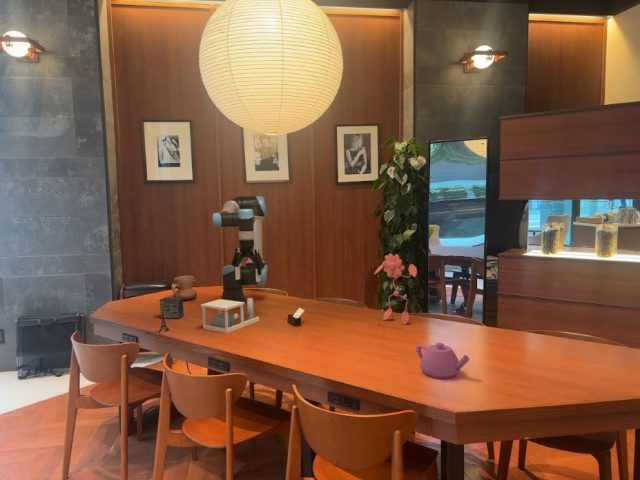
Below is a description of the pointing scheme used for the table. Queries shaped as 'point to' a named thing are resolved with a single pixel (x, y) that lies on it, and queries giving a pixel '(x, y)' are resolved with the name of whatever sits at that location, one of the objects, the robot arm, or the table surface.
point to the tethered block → (232, 316)
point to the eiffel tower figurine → (162, 325)
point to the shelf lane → (225, 306)
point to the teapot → (440, 361)
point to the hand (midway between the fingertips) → (248, 280)
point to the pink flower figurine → (395, 269)
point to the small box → (172, 308)
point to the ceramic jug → (184, 288)
